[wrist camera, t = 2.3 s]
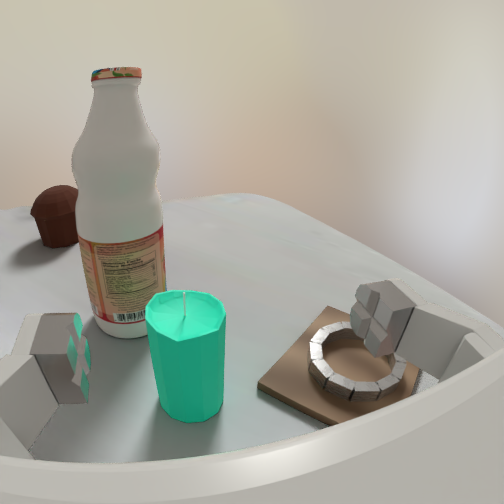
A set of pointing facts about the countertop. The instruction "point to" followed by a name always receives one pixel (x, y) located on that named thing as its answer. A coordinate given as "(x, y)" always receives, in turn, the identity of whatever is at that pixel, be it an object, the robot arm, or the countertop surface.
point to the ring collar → (342, 384)
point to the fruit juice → (119, 205)
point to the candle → (187, 352)
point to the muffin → (56, 216)
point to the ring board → (343, 363)
